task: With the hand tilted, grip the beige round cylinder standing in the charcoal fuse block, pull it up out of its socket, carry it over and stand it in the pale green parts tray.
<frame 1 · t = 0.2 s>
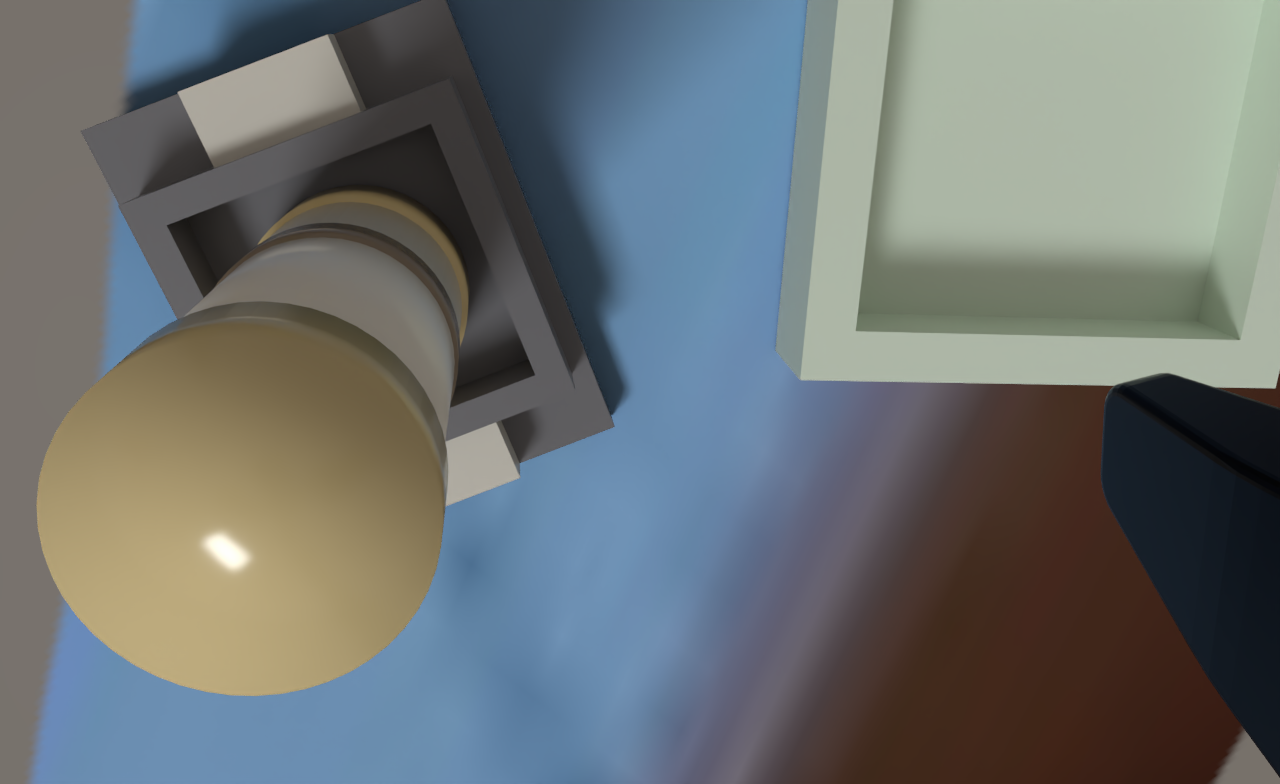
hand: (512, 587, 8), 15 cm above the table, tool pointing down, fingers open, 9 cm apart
fuse block: (368, 282, 23), on the table
parts tray: (1037, 119, 23), on the table
beige round cylinder: (365, 288, 22), point 1 cm above the table, touching fuse block
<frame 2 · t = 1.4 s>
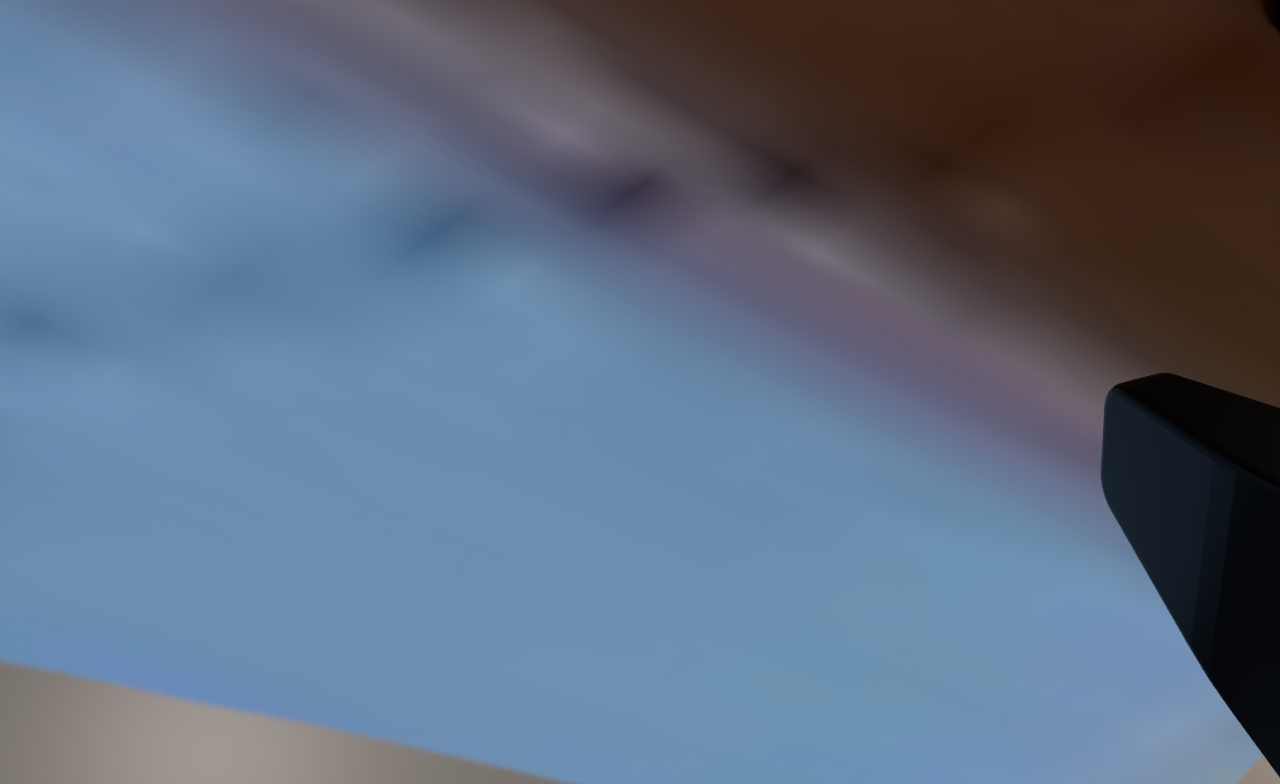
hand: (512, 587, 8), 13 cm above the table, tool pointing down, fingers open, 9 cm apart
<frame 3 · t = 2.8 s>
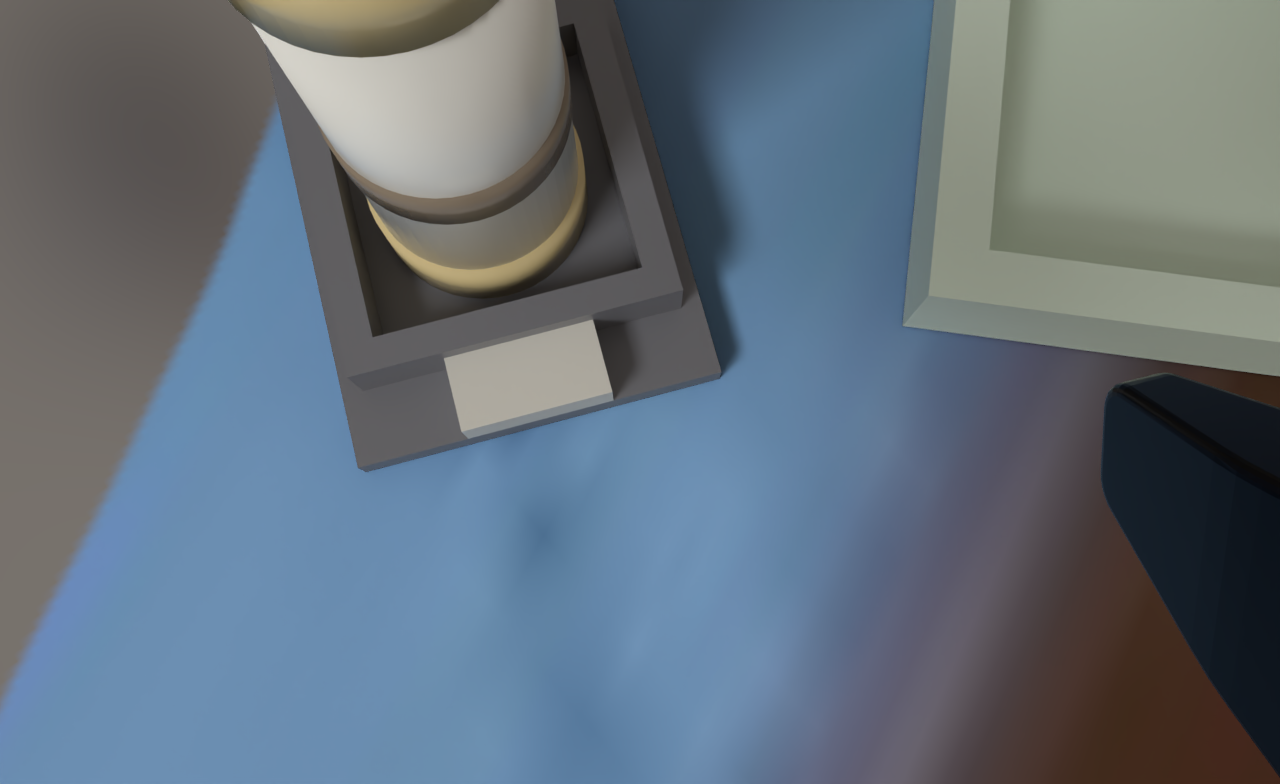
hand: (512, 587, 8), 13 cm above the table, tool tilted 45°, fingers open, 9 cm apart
fuse block: (489, 210, 23), on the table
parts tray: (1172, 121, 23), on the table
beige round cylinder: (485, 199, 22), point 1 cm above the table, touching fuse block
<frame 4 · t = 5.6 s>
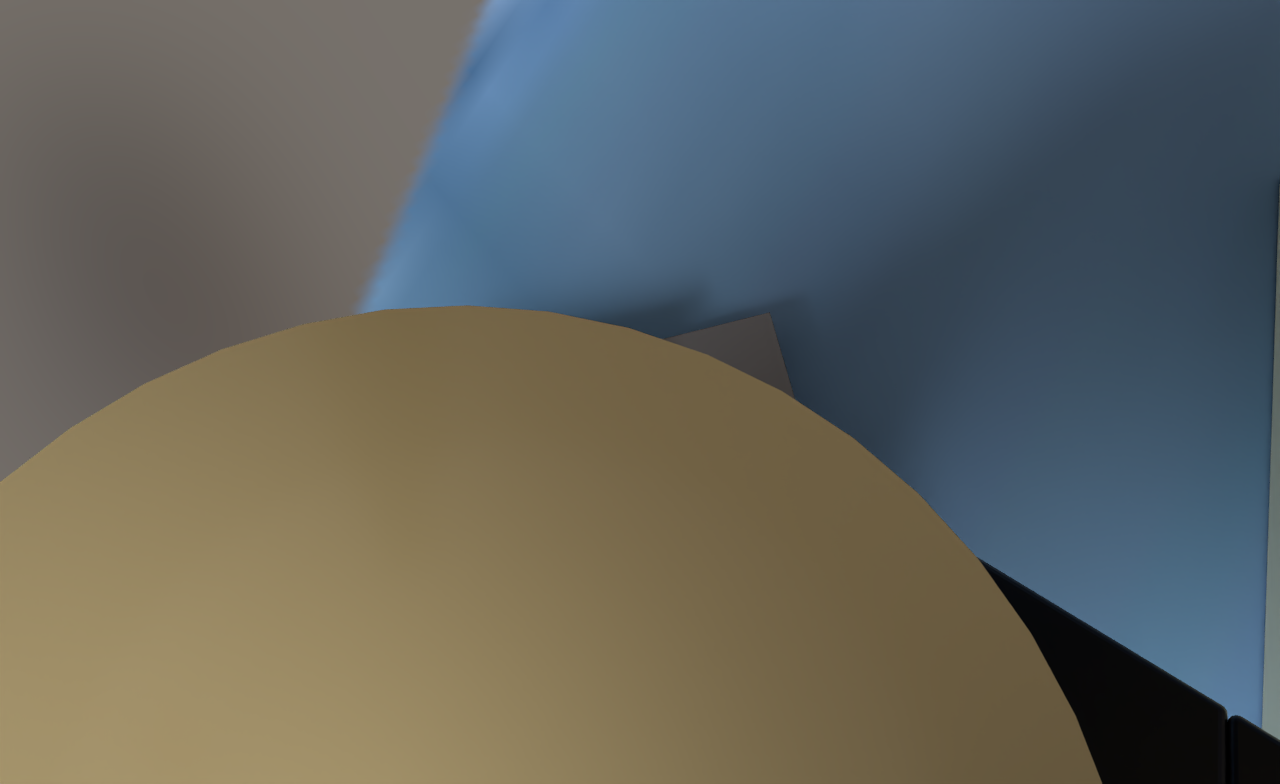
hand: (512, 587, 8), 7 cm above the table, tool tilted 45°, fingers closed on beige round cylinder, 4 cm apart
fuse block: (596, 720, 15), on the table
beige round cylinder: (594, 723, 14), point 1 cm above the table, touching fuse block, gripper
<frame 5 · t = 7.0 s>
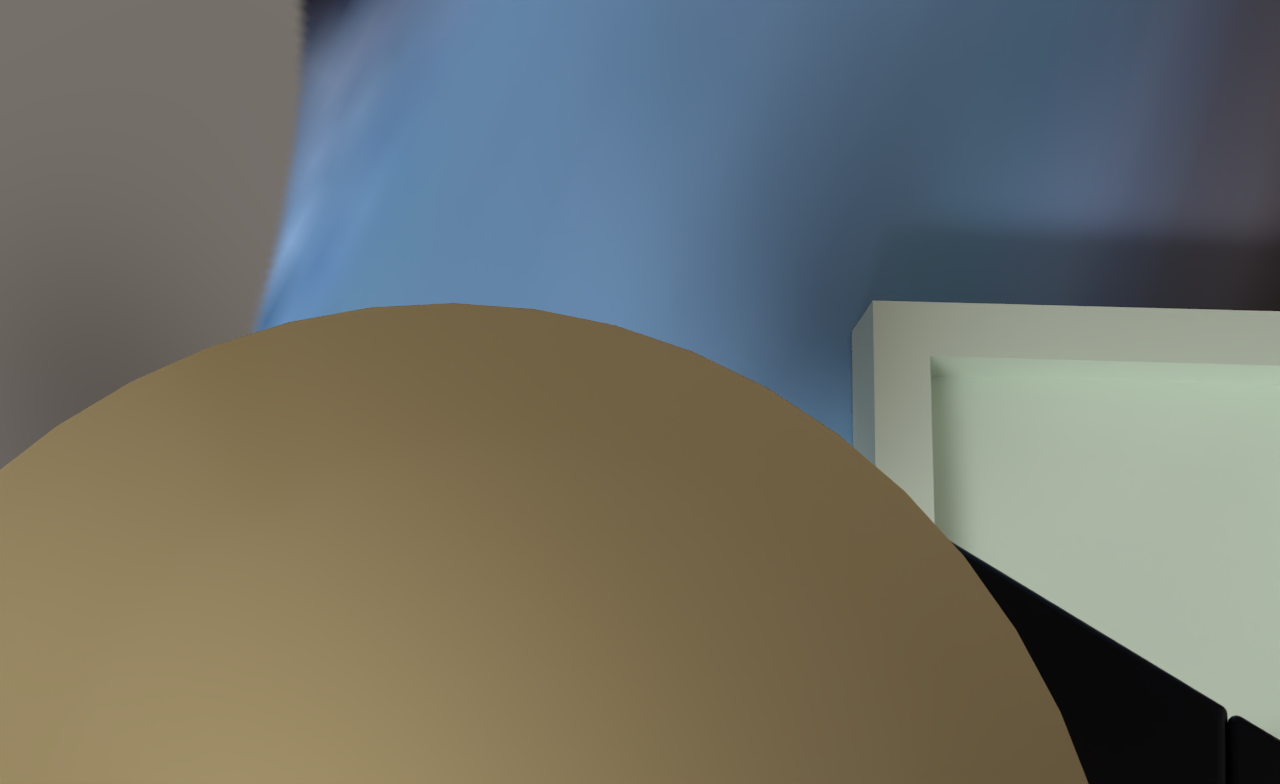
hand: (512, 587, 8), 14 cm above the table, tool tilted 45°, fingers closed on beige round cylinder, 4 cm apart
parts tray: (1121, 595, 21), on the table
beige round cylinder: (591, 722, 14), point 7 cm above the table, touching gripper
when the fingers open (8 cm above the table, at t = 8.9 s): beige round cylinder stays where it is, resting on parts tray.
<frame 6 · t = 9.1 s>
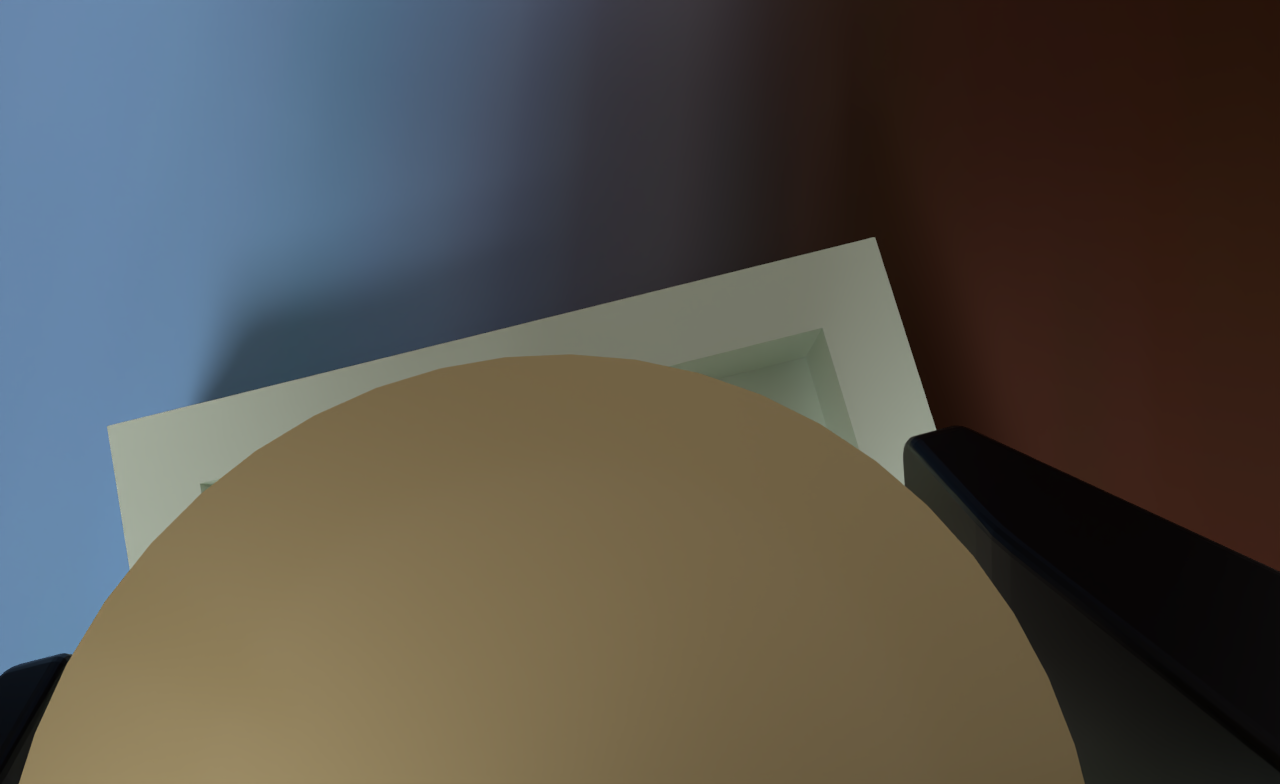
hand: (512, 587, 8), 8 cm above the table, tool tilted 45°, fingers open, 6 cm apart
parts tray: (598, 715, 15), on the table
beige round cylinder: (595, 720, 15), point 1 cm above the table, touching parts tray
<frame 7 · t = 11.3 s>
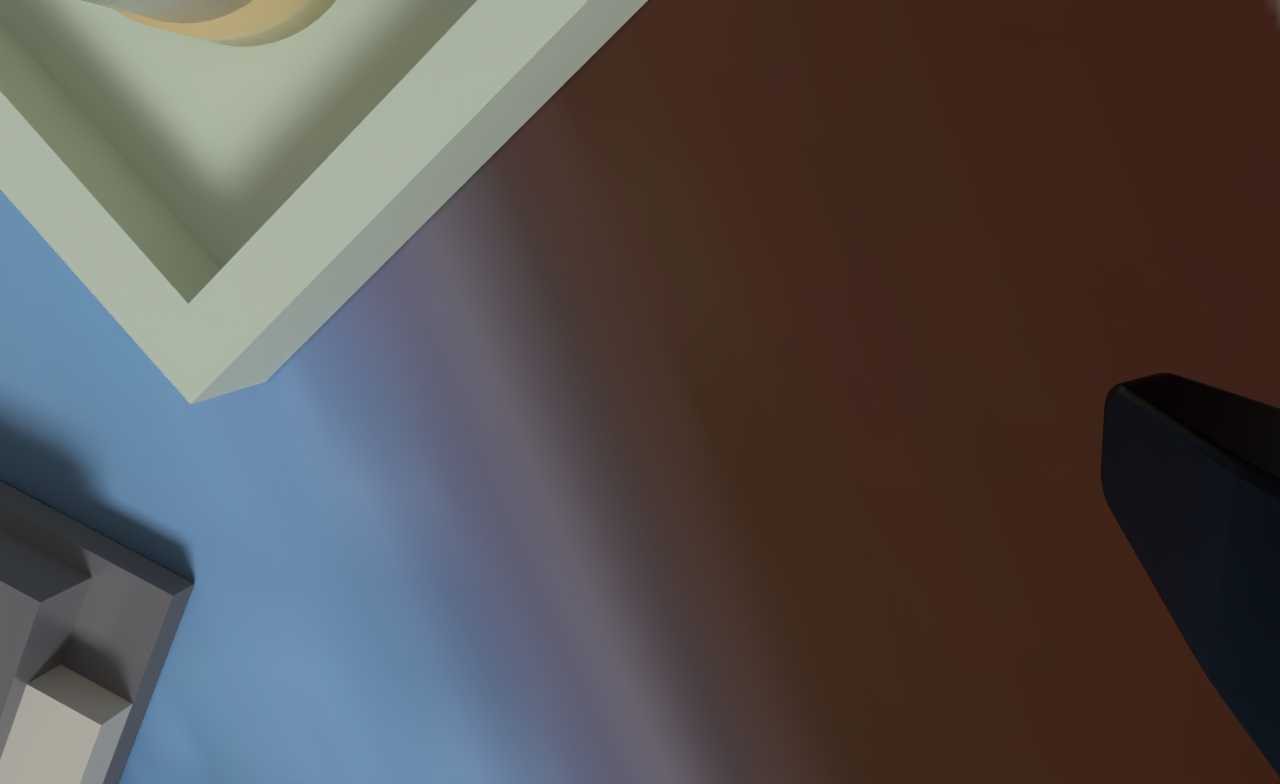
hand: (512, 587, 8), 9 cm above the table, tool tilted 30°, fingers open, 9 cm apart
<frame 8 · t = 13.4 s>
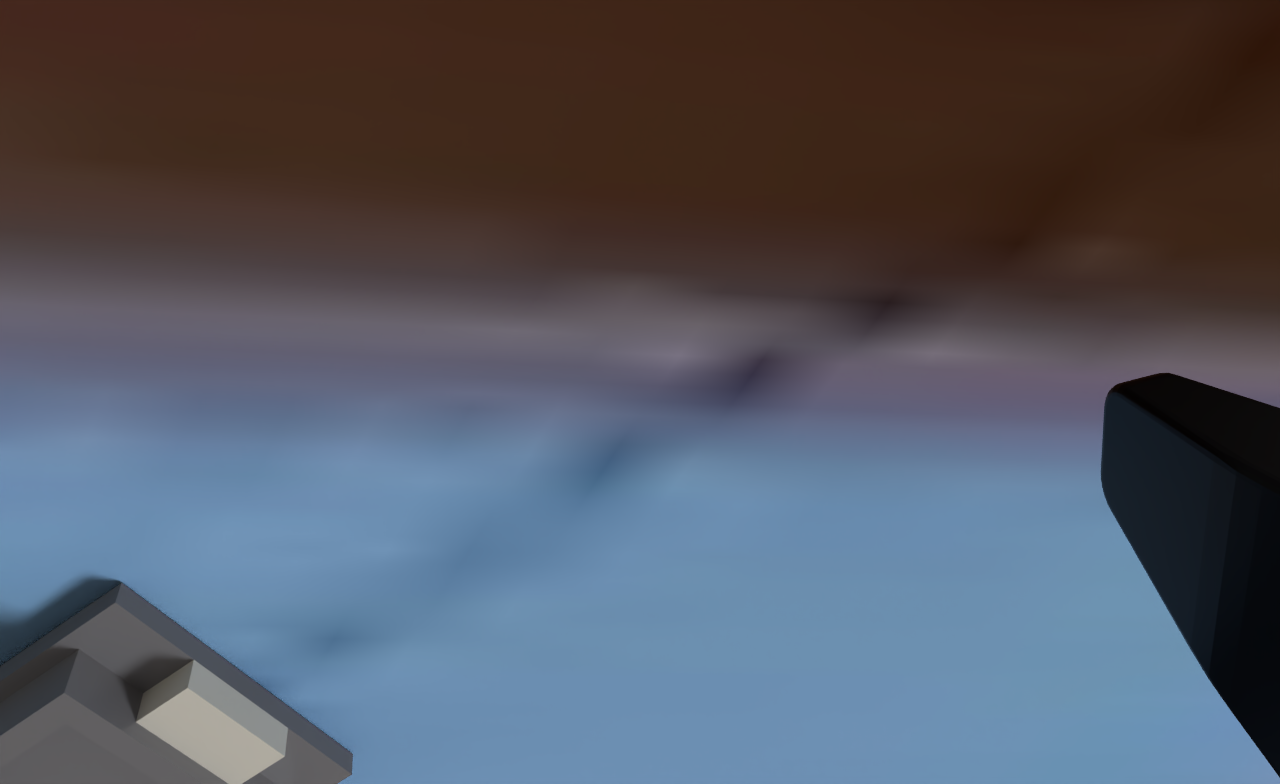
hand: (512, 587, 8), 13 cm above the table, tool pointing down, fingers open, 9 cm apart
fuse block: (92, 774, 26), on the table
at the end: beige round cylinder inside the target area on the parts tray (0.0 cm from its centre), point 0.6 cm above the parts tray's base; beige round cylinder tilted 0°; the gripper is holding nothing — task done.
